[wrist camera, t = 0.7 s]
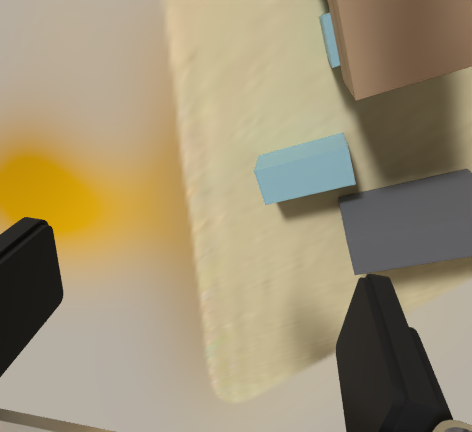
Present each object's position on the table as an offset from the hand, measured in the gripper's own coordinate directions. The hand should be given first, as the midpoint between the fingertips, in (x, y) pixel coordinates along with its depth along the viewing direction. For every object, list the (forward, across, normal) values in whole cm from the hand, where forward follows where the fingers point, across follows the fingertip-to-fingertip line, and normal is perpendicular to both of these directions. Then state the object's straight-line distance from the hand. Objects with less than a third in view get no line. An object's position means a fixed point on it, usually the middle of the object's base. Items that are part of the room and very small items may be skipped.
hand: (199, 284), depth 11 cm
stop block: (+20, -13, +5) cm, 25 cm away
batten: (+21, -4, +3) cm, 22 cm away
